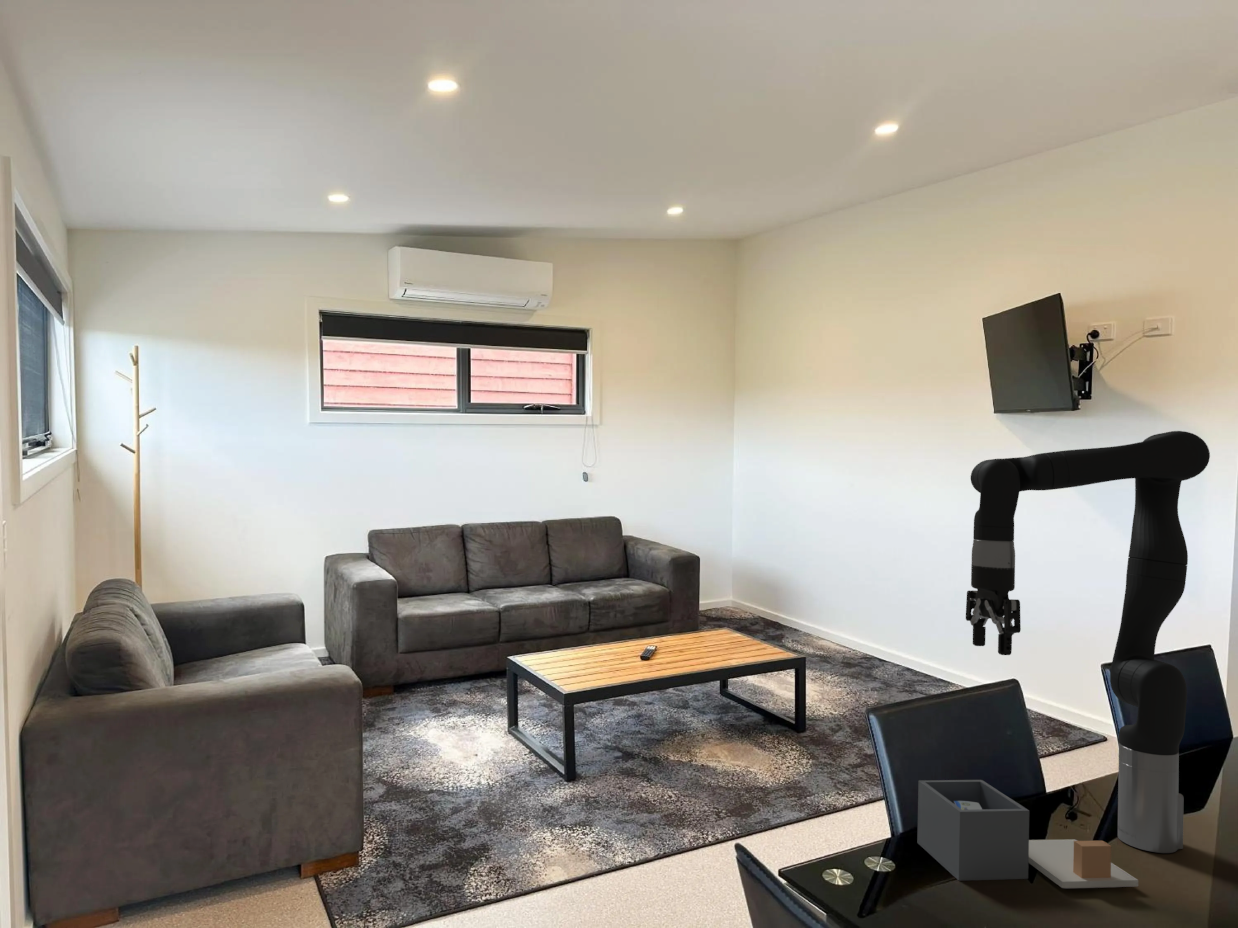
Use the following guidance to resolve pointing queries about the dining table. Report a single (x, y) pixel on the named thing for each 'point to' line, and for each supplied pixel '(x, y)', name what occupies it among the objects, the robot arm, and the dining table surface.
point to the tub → (973, 830)
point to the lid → (1078, 864)
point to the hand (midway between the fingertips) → (991, 649)
